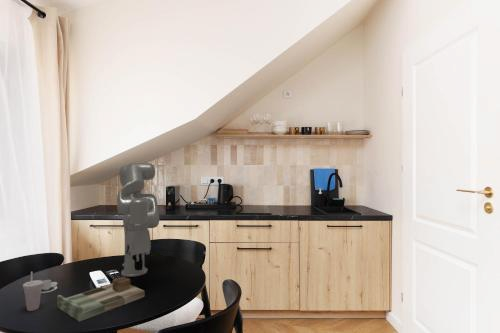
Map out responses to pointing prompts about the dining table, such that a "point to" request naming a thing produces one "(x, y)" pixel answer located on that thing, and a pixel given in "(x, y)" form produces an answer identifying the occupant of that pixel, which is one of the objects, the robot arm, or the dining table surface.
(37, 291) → the smoothie
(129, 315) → the dining table surface
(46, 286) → the teacup and saucer
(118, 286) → the walnut block
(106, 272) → the dining table surface
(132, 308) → the dining table surface
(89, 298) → the board
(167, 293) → the dining table surface
